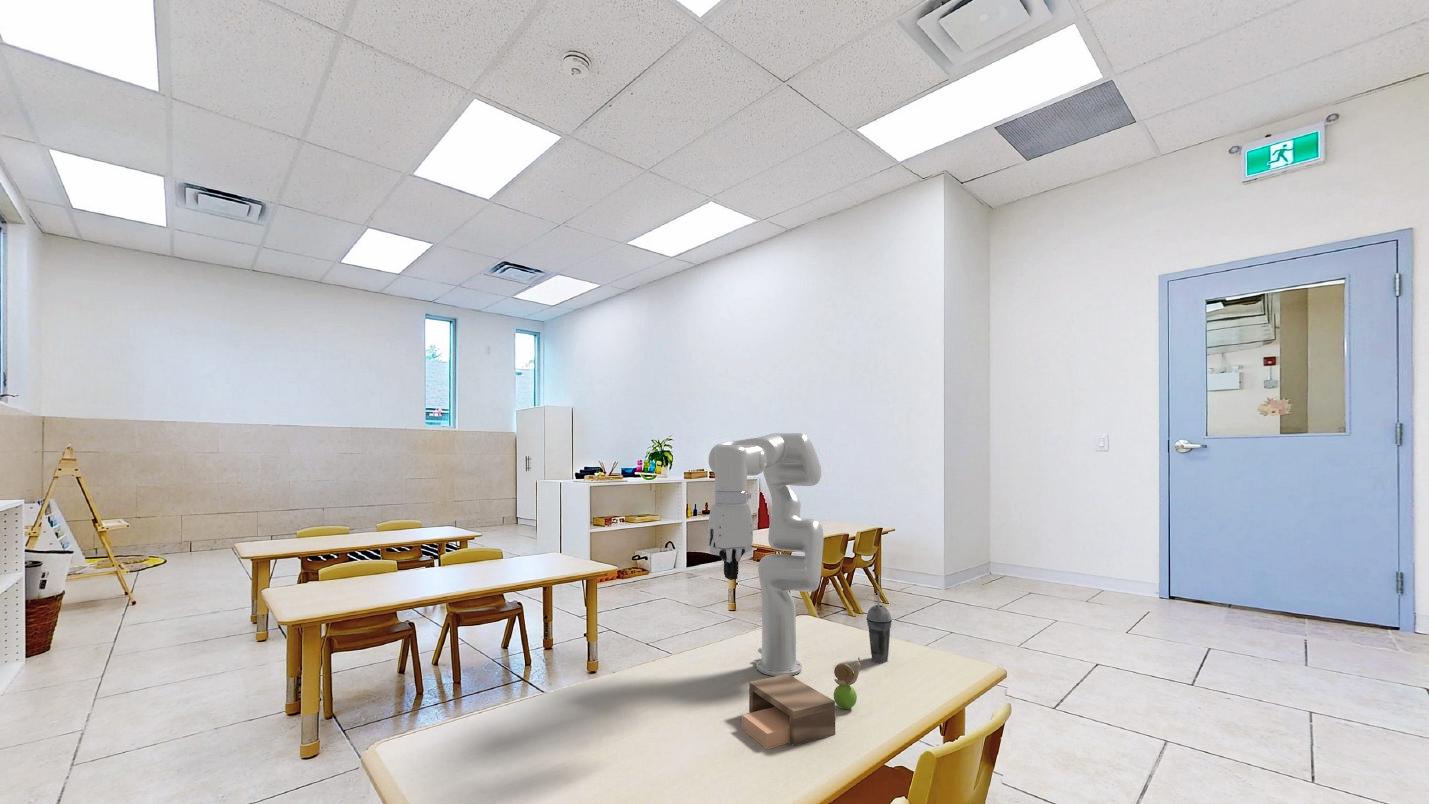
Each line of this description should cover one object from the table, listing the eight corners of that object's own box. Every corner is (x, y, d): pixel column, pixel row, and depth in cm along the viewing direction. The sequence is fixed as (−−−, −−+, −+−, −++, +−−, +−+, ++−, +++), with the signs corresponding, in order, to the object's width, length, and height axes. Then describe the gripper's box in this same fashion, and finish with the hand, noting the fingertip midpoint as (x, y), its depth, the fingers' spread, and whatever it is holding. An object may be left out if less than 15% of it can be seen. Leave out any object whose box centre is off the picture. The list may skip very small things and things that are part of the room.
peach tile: (742, 731, 136) (742, 715, 136) (793, 717, 143) (793, 702, 143) (767, 751, 127) (767, 733, 127) (820, 735, 134) (820, 719, 134)
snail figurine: (861, 714, 143) (860, 661, 144) (833, 711, 144) (833, 659, 145) (860, 704, 149) (860, 654, 149) (833, 702, 150) (833, 652, 151)
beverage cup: (893, 657, 181) (892, 588, 183) (892, 665, 174) (890, 594, 176) (868, 654, 184) (867, 586, 185) (865, 662, 177) (864, 592, 178)
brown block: (749, 712, 144) (749, 682, 145) (787, 703, 149) (787, 673, 150) (794, 746, 128) (793, 711, 129) (835, 734, 133) (835, 701, 134)
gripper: (749, 496, 150) (750, 572, 148) (695, 498, 143) (694, 578, 141) (766, 498, 143) (767, 578, 142) (710, 501, 136) (710, 585, 135)
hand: (731, 578), depth 142 cm, fingers closed
